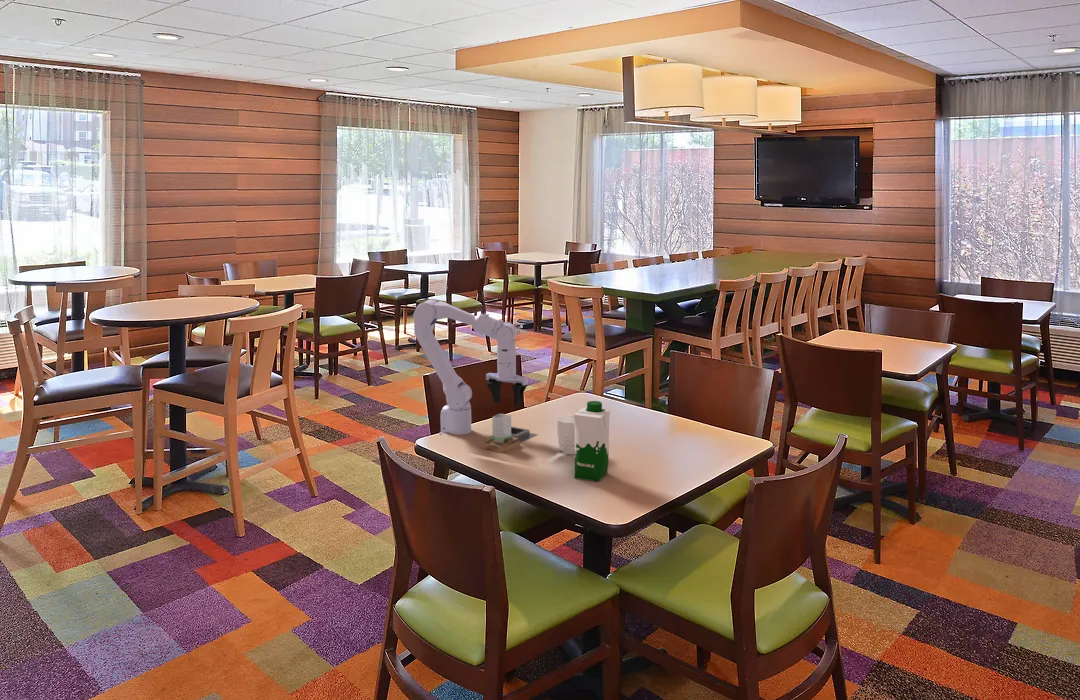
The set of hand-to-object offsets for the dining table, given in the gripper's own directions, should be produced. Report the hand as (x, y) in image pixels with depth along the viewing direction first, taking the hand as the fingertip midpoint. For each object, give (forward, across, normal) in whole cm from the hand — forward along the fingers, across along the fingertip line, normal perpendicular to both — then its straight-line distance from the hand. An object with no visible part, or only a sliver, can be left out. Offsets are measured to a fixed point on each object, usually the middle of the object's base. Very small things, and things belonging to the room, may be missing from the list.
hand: (507, 404), depth 246 cm
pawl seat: (+10, -6, +12) cm, 17 cm away
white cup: (+11, -24, +2) cm, 26 cm away
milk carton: (+11, -39, +17) cm, 44 cm away
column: (+8, -6, +12) cm, 15 cm away
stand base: (+10, -3, +1) cm, 11 cm away
